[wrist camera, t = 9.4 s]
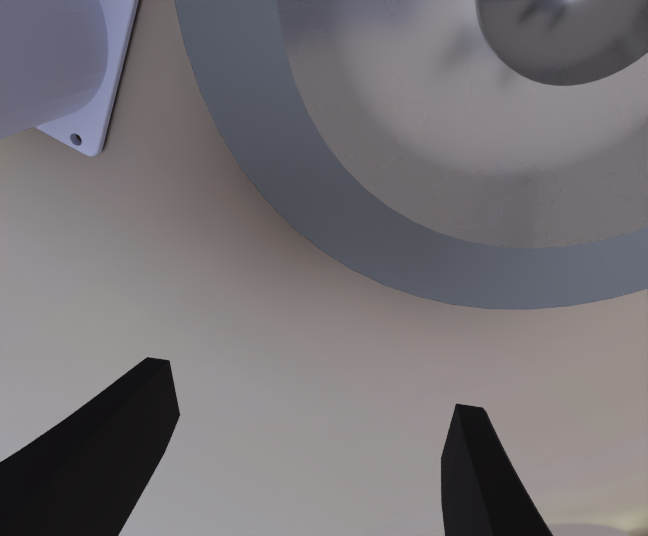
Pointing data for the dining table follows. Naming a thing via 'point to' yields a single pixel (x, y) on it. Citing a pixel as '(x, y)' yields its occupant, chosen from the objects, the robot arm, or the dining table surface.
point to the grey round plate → (358, 203)
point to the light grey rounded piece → (484, 111)
